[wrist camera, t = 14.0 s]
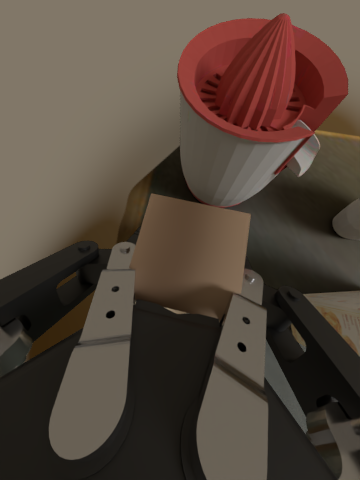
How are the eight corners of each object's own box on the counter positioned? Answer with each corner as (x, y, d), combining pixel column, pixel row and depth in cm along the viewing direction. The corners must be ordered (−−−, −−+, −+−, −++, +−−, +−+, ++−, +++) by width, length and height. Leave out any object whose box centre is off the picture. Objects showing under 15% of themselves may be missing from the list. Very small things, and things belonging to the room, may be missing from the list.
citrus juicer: (231, 241, 27) (358, 156, 8) (162, 184, 30) (130, 17, 11) (278, 185, 30) (459, 20, 11) (211, 137, 33) (258, -64, 13)
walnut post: (211, 248, 16) (251, 214, 7) (203, 296, 15) (237, 325, 6) (166, 238, 16) (151, 193, 8) (154, 285, 15) (120, 296, 6)
